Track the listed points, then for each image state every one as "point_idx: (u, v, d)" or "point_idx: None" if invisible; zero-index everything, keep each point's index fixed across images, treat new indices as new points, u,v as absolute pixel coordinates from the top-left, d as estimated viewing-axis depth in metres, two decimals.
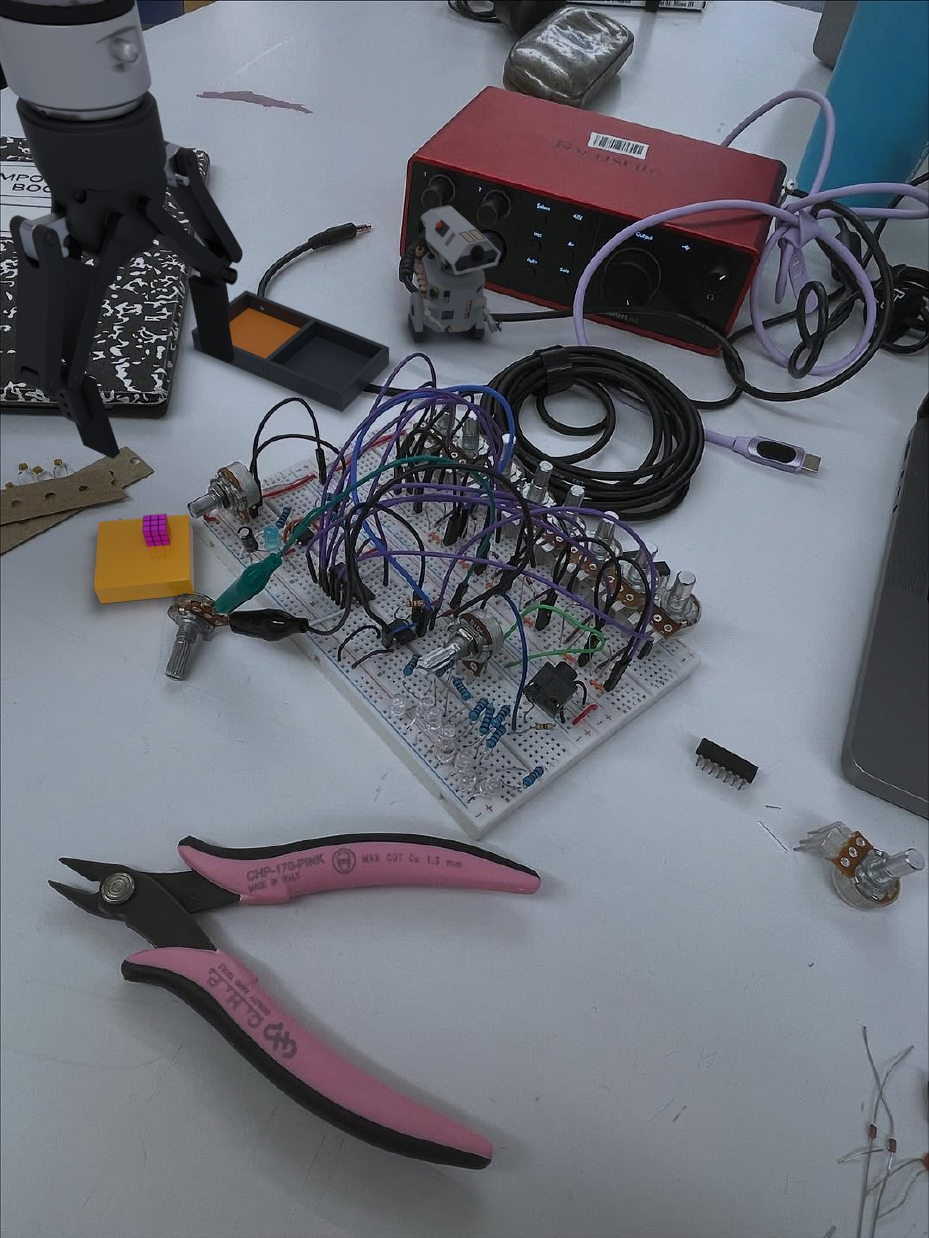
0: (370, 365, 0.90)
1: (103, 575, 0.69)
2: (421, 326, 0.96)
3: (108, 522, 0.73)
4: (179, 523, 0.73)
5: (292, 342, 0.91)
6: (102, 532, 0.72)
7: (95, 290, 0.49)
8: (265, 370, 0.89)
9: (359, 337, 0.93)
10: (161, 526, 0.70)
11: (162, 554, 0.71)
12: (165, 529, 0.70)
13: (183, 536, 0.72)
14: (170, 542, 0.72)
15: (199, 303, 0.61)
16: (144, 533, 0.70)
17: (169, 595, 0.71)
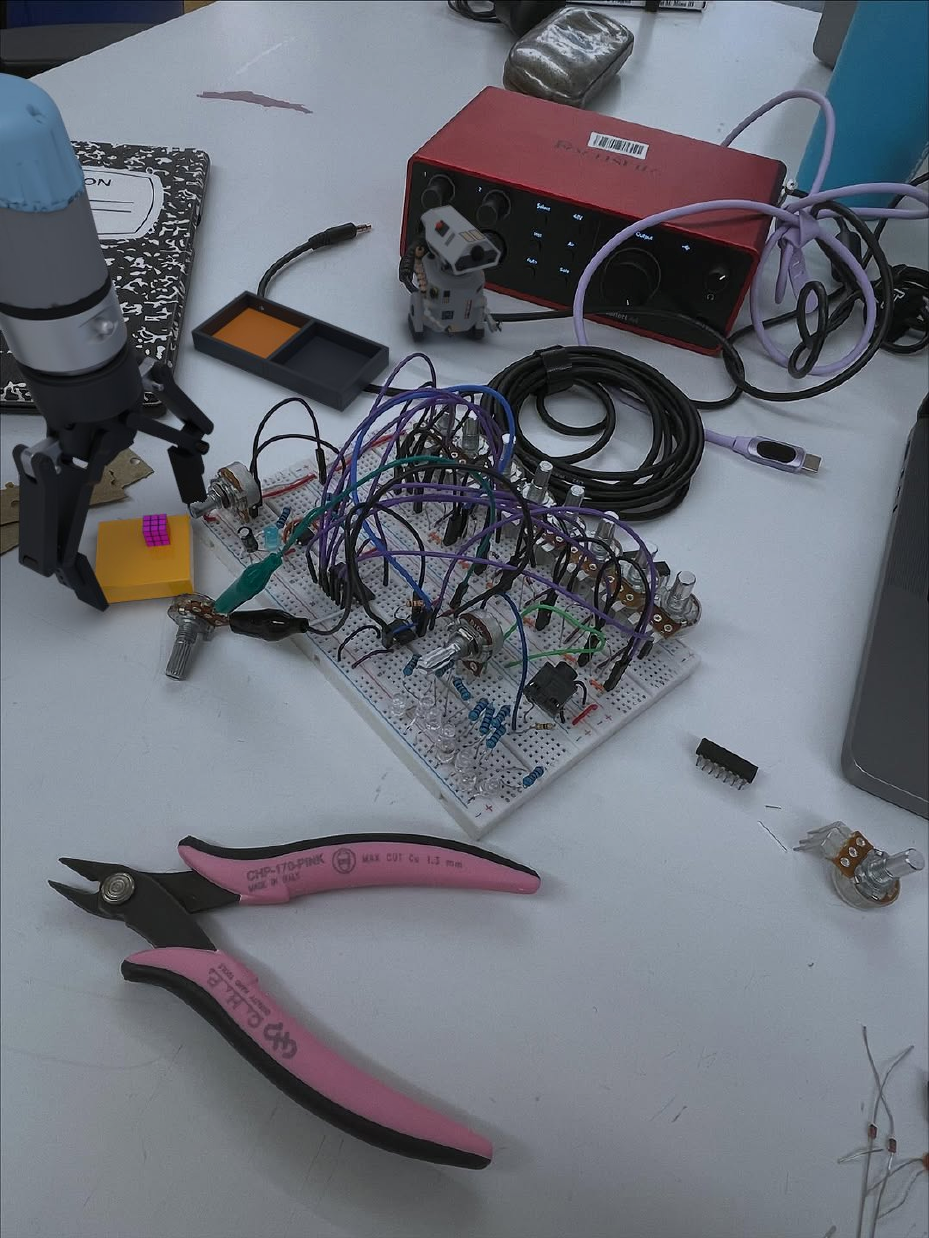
0: (370, 365, 0.90)
1: (103, 575, 0.69)
2: (421, 326, 0.96)
3: (108, 522, 0.73)
4: (179, 523, 0.73)
5: (292, 342, 0.91)
6: (102, 532, 0.72)
7: (84, 490, 0.59)
8: (265, 370, 0.89)
9: (359, 337, 0.93)
10: (161, 526, 0.70)
11: (162, 554, 0.71)
12: (165, 529, 0.70)
13: (183, 536, 0.72)
14: (170, 542, 0.72)
15: (178, 468, 0.71)
16: (144, 533, 0.70)
17: (169, 595, 0.71)
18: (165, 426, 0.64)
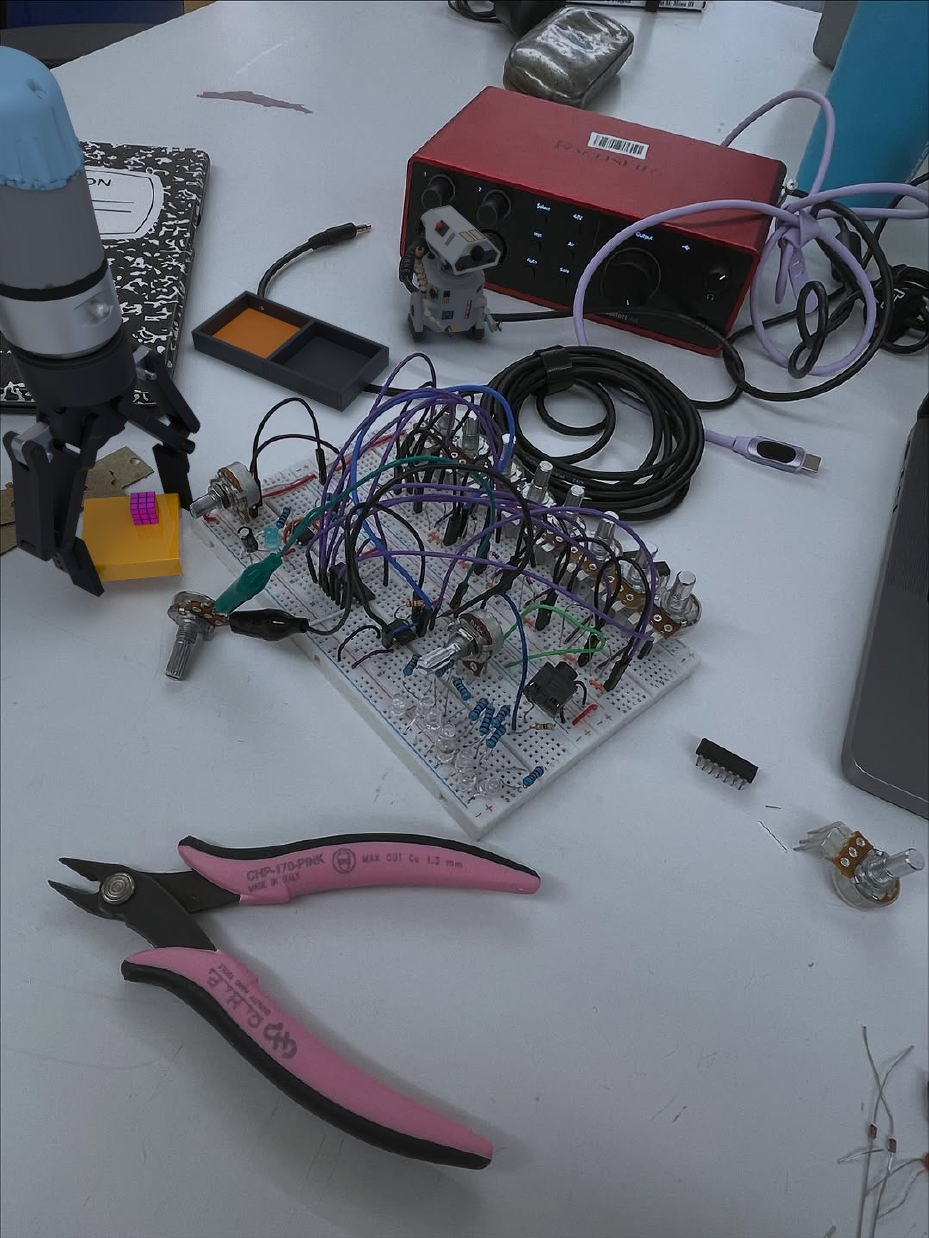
0: (370, 365, 0.90)
1: (89, 553, 0.67)
2: (421, 326, 0.96)
3: (94, 499, 0.70)
4: (168, 502, 0.71)
5: (292, 342, 0.91)
6: (88, 509, 0.70)
7: (78, 475, 0.58)
8: (265, 370, 0.89)
9: (359, 337, 0.93)
10: (149, 504, 0.68)
11: (149, 532, 0.69)
12: (153, 507, 0.68)
13: (171, 514, 0.70)
14: (158, 521, 0.70)
15: (162, 466, 0.70)
16: (132, 511, 0.68)
17: (157, 575, 0.69)
18: (154, 419, 0.63)
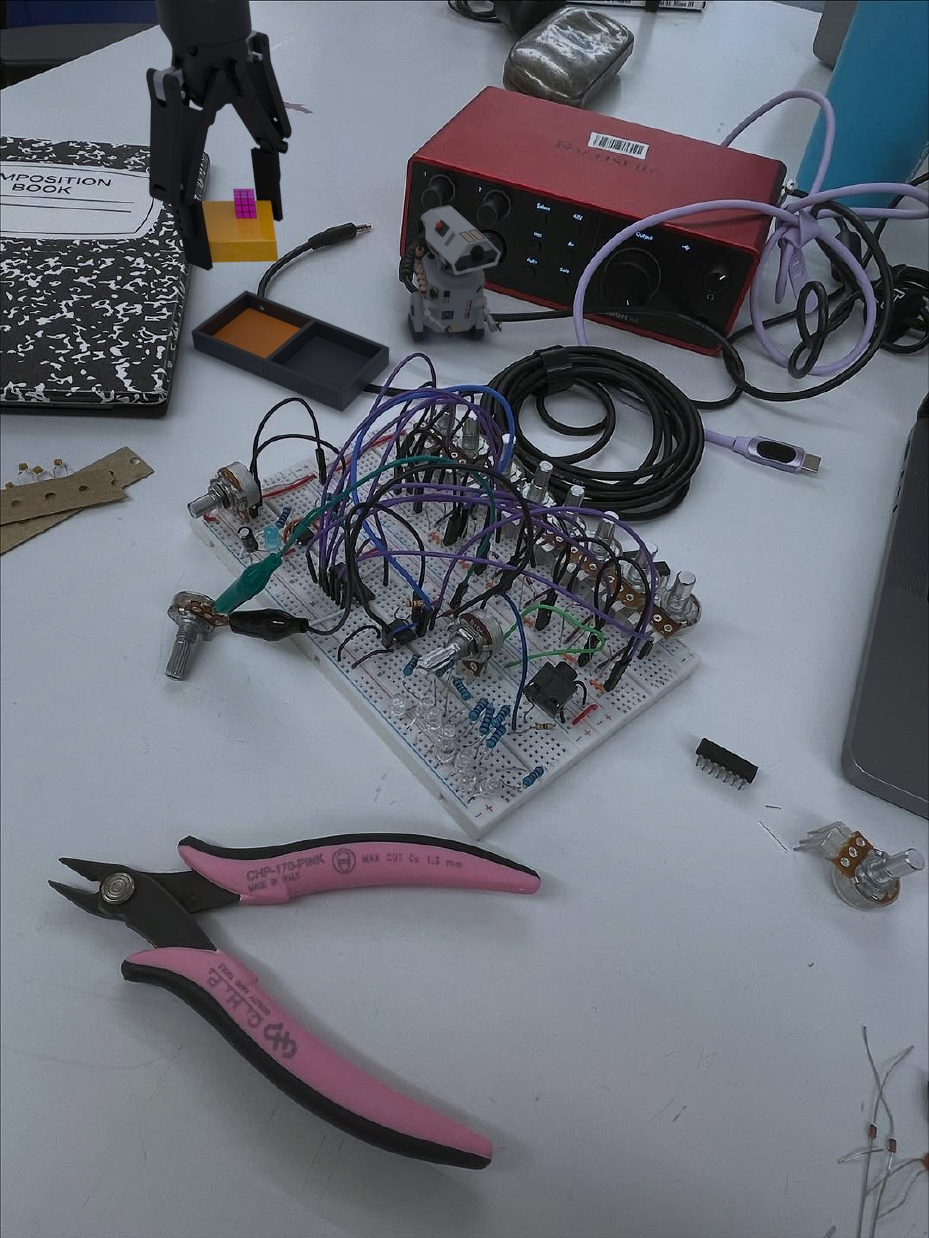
0: (370, 365, 0.90)
1: None
2: (421, 326, 0.96)
3: None
4: (263, 205, 0.82)
5: (292, 342, 0.91)
6: None
7: (201, 128, 0.69)
8: (265, 370, 0.89)
9: (359, 337, 0.93)
10: (250, 196, 0.79)
11: (249, 223, 0.80)
12: (253, 198, 0.79)
13: (267, 213, 0.81)
14: (256, 217, 0.80)
15: (258, 170, 0.81)
16: (235, 200, 0.79)
17: (256, 259, 0.79)
18: (258, 103, 0.74)
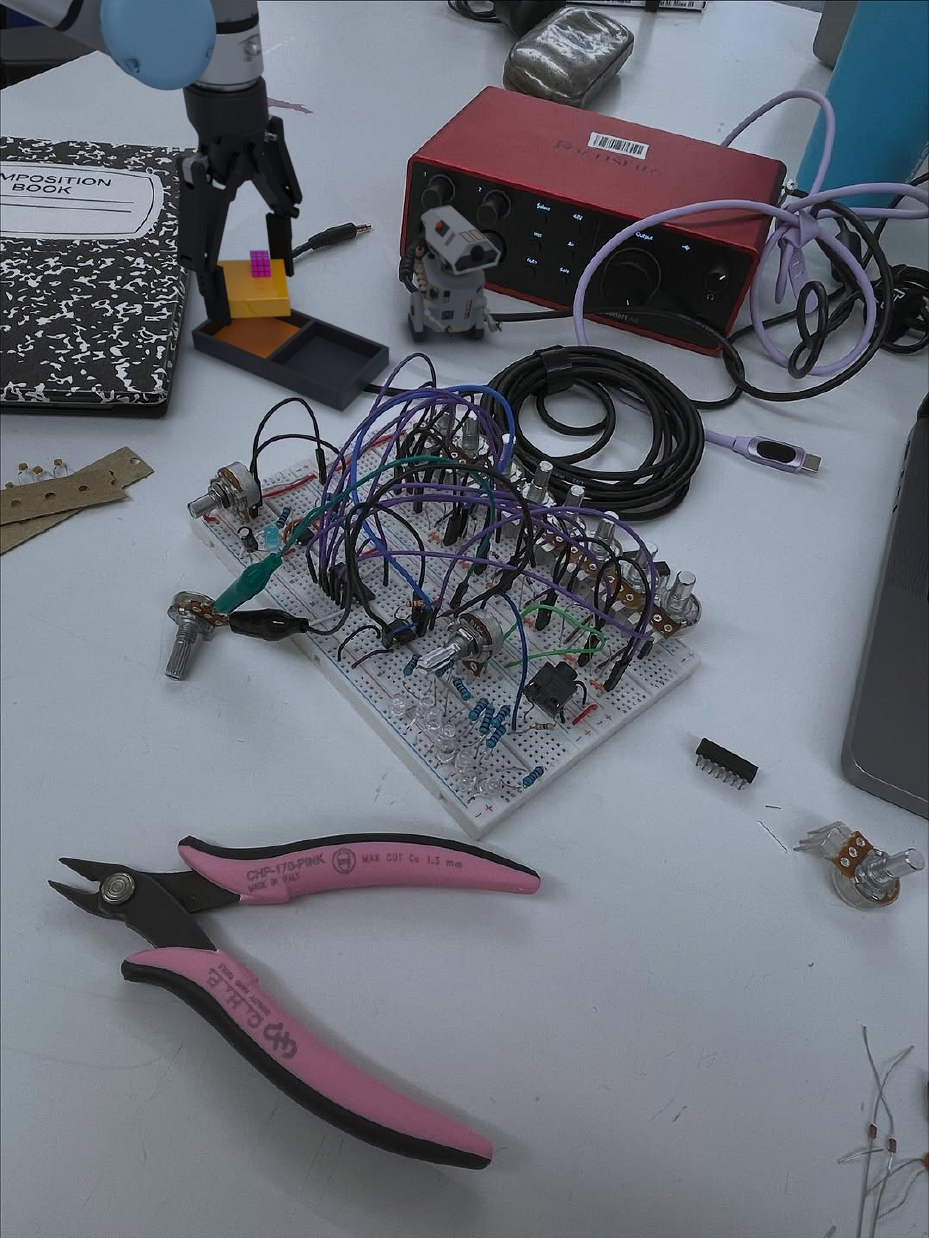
0: (370, 365, 0.90)
1: None
2: (421, 326, 0.96)
3: (219, 261, 0.89)
4: (276, 264, 0.90)
5: (292, 342, 0.91)
6: None
7: (223, 205, 0.77)
8: (265, 370, 0.89)
9: (359, 337, 0.93)
10: (265, 257, 0.87)
11: (265, 282, 0.88)
12: (268, 259, 0.87)
13: (280, 272, 0.89)
14: (271, 275, 0.88)
15: (272, 233, 0.89)
16: (252, 262, 0.86)
17: (271, 315, 0.87)
18: (273, 177, 0.82)
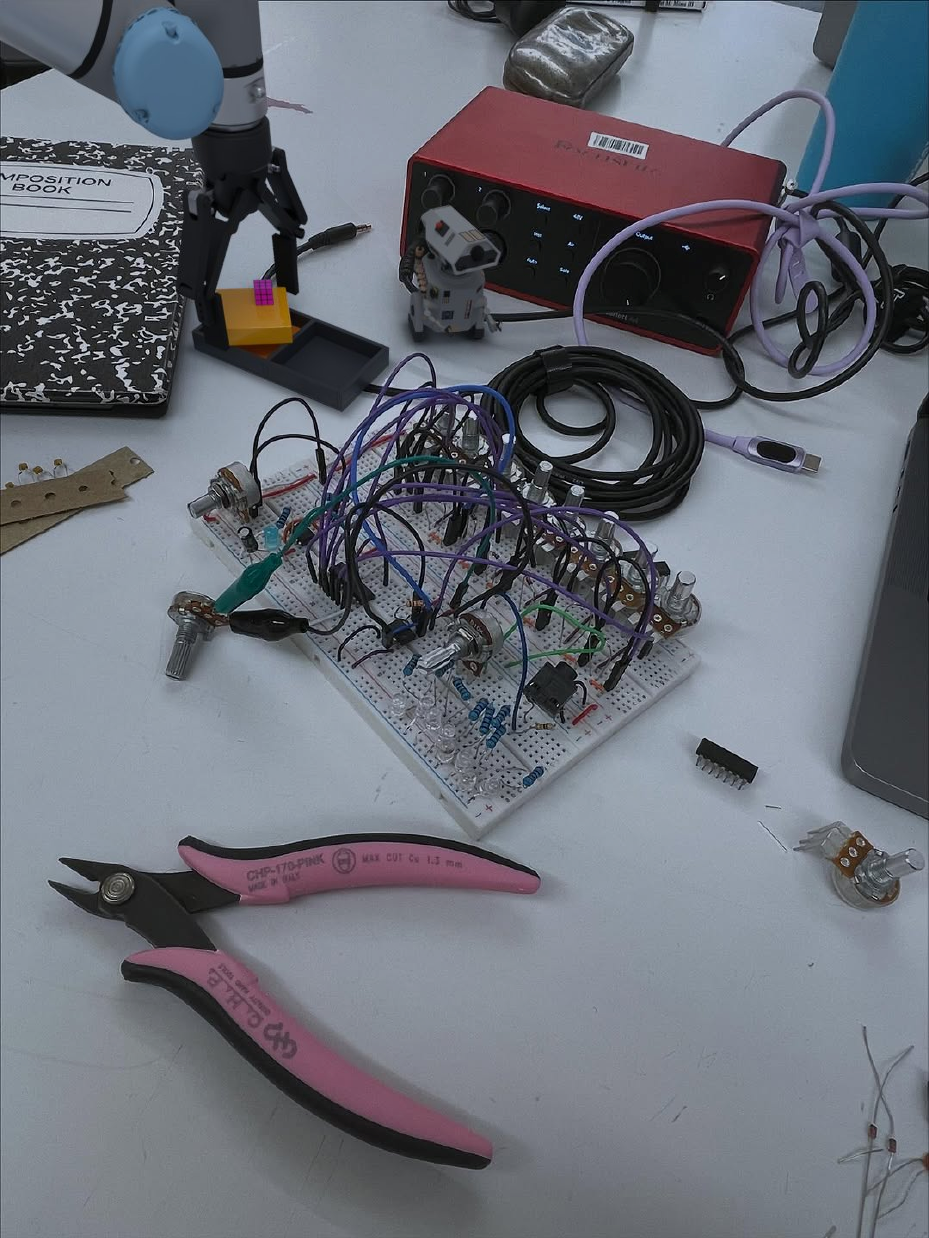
0: (370, 365, 0.90)
1: None
2: (421, 326, 0.96)
3: (223, 289, 0.92)
4: (279, 292, 0.93)
5: None
6: None
7: (225, 236, 0.79)
8: (265, 370, 0.89)
9: (359, 337, 0.93)
10: (268, 286, 0.90)
11: (267, 310, 0.90)
12: (271, 289, 0.90)
13: (282, 300, 0.92)
14: (273, 303, 0.91)
15: (278, 253, 0.91)
16: (255, 291, 0.89)
17: (274, 342, 0.90)
18: (278, 204, 0.85)
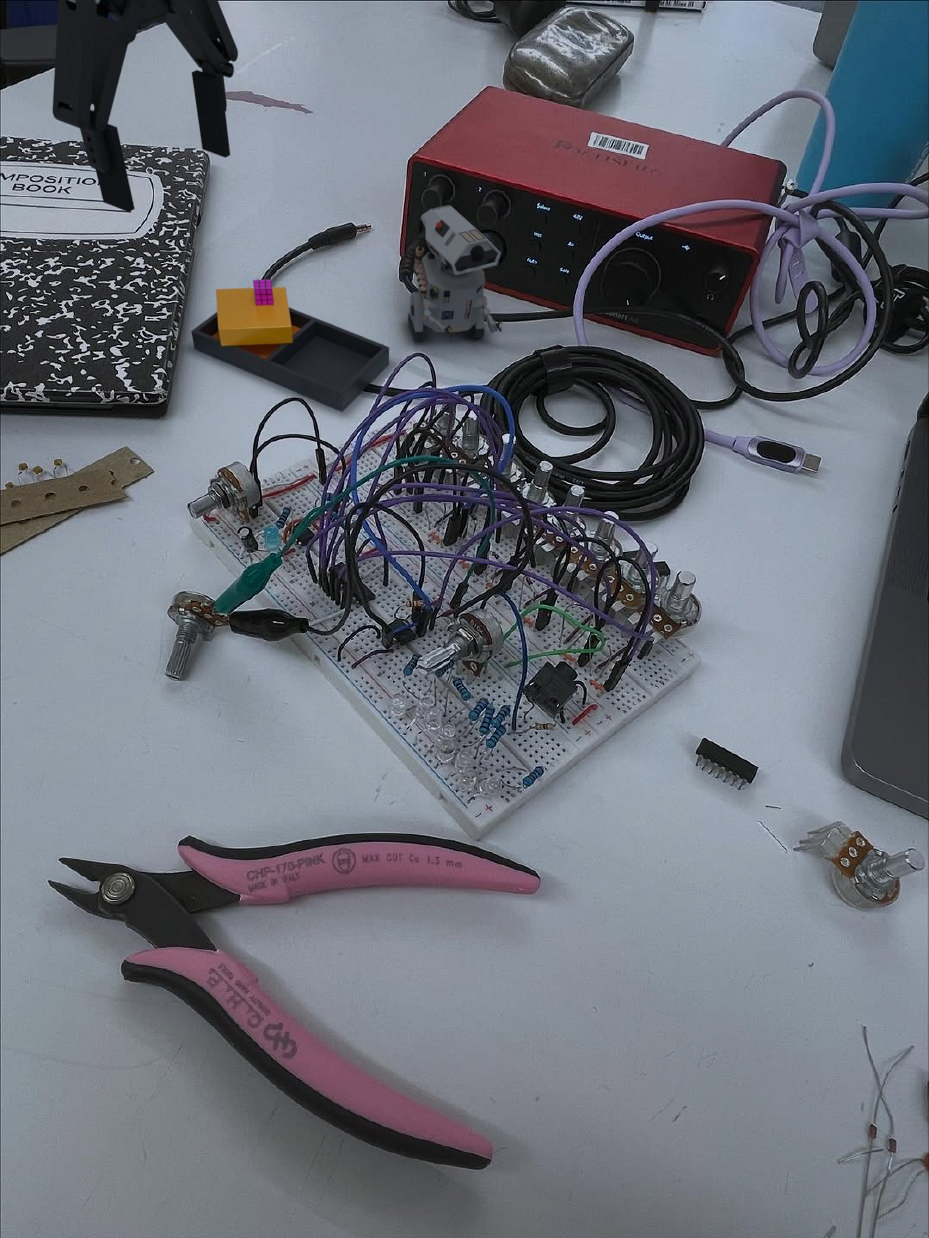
0: (370, 365, 0.90)
1: (224, 321, 0.88)
2: (421, 326, 0.96)
3: (223, 289, 0.92)
4: (279, 292, 0.93)
5: None
6: (219, 295, 0.91)
7: (119, 43, 0.61)
8: (265, 370, 0.89)
9: (359, 337, 0.93)
10: (268, 286, 0.90)
11: (267, 310, 0.90)
12: (271, 289, 0.90)
13: (282, 300, 0.92)
14: (273, 303, 0.91)
15: (201, 97, 0.73)
16: (255, 291, 0.89)
17: (274, 342, 0.90)
18: (194, 19, 0.66)
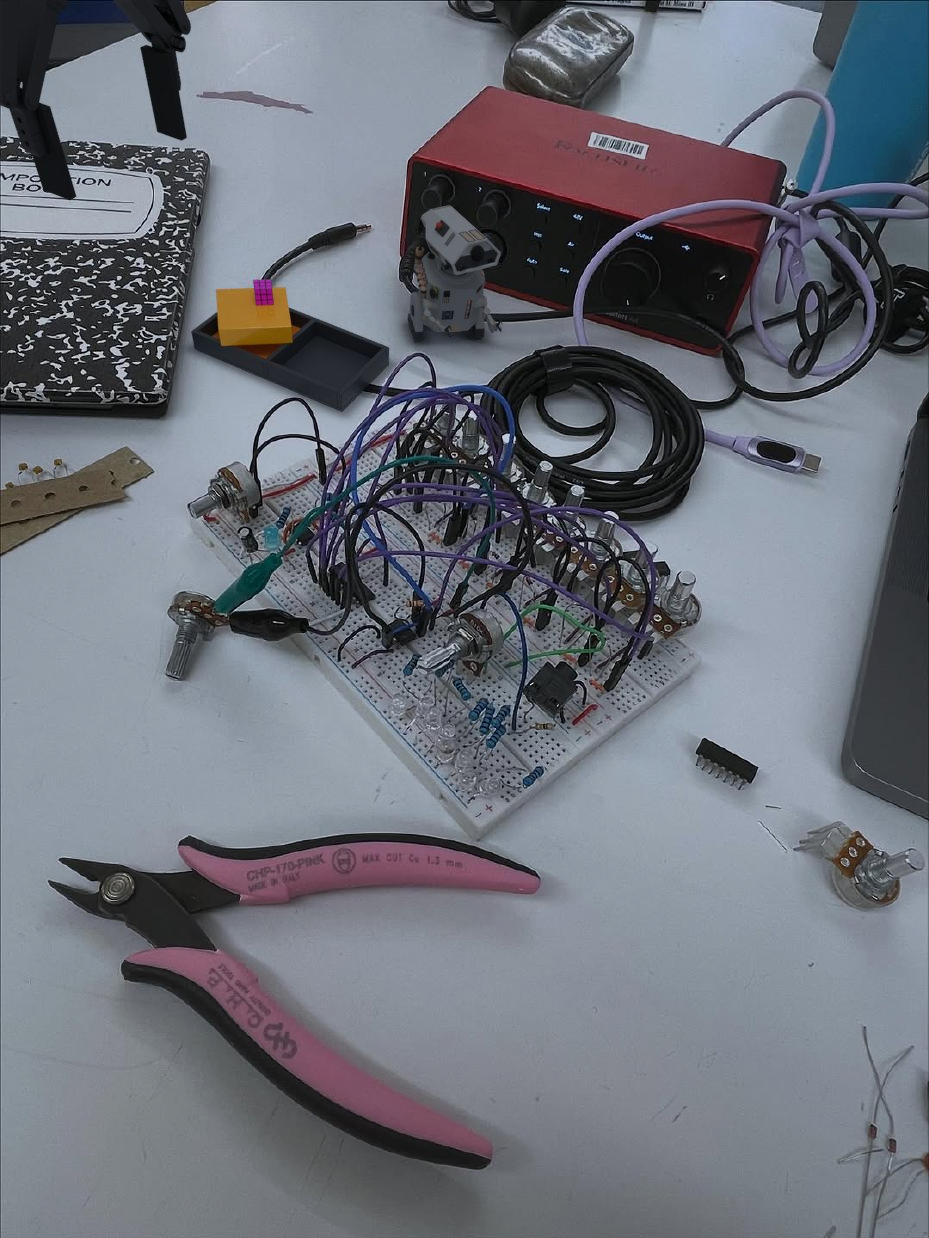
0: (370, 365, 0.90)
1: (224, 321, 0.88)
2: (421, 326, 0.96)
3: (223, 289, 0.92)
4: (279, 292, 0.93)
5: None
6: (219, 295, 0.91)
7: (47, 13, 0.55)
8: (265, 370, 0.89)
9: (359, 337, 0.93)
10: (268, 286, 0.90)
11: (267, 310, 0.90)
12: (271, 289, 0.90)
13: (282, 300, 0.92)
14: (273, 303, 0.91)
15: (152, 75, 0.67)
16: (255, 291, 0.89)
17: (274, 342, 0.90)
18: None
